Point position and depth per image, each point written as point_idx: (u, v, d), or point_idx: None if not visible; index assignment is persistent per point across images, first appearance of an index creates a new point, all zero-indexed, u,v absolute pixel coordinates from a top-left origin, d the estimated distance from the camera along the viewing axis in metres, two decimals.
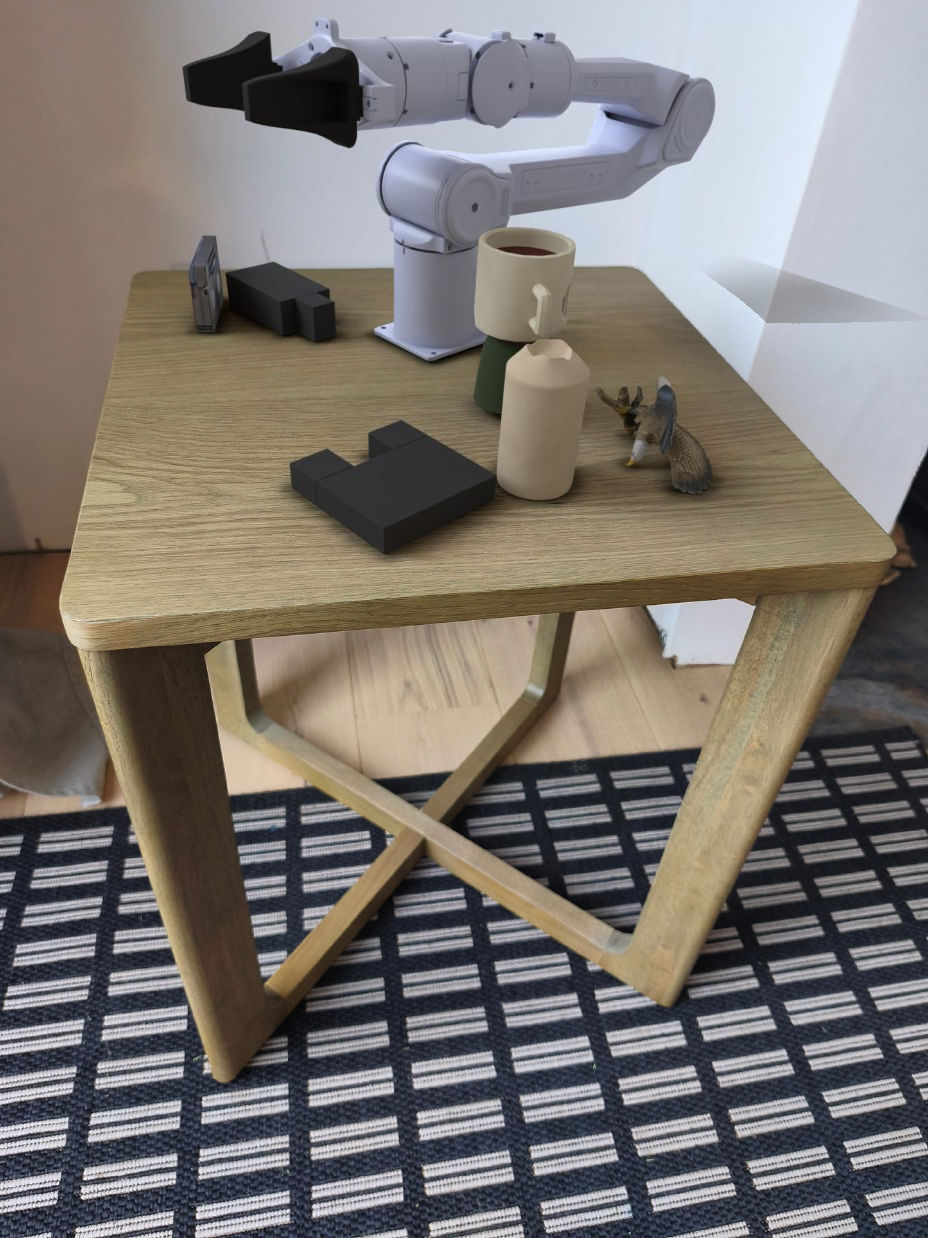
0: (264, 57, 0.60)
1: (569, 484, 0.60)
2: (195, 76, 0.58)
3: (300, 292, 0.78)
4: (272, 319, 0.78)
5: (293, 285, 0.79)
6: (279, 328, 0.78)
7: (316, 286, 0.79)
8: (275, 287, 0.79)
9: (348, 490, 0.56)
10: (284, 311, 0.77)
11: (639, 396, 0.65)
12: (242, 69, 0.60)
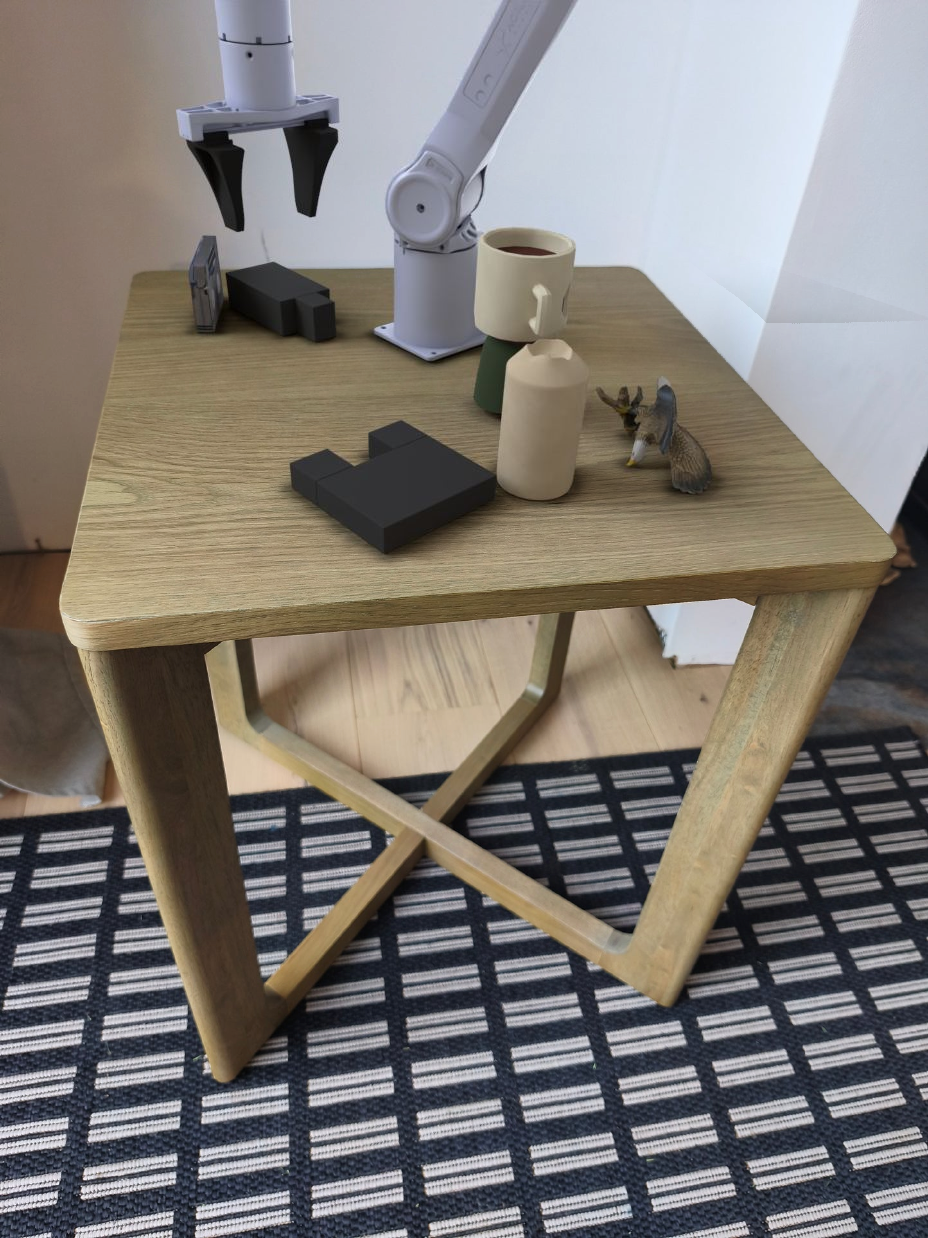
0: (291, 136, 0.75)
1: (569, 484, 0.60)
2: (300, 207, 0.78)
3: (300, 292, 0.78)
4: (272, 319, 0.78)
5: (293, 285, 0.79)
6: (279, 328, 0.78)
7: (316, 286, 0.79)
8: (275, 287, 0.79)
9: (348, 490, 0.56)
10: (284, 311, 0.77)
11: (639, 396, 0.65)
12: (297, 161, 0.76)
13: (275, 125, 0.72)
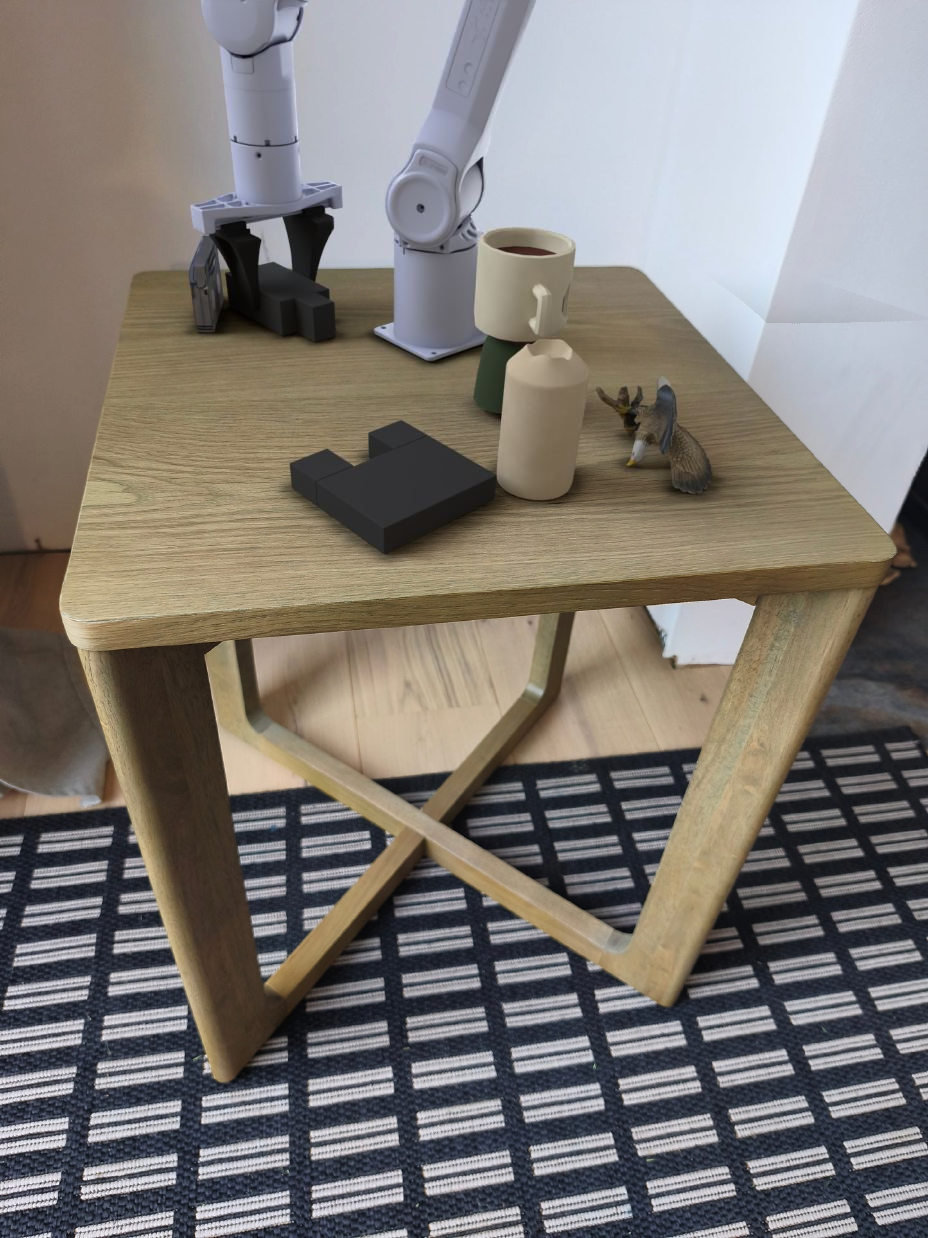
0: (289, 222, 0.79)
1: (569, 484, 0.60)
2: None
3: (299, 292, 0.78)
4: (271, 319, 0.78)
5: (293, 285, 0.79)
6: (279, 328, 0.78)
7: (316, 286, 0.79)
8: (275, 287, 0.79)
9: (348, 490, 0.56)
10: (284, 311, 0.77)
11: (639, 396, 0.65)
12: (295, 245, 0.80)
13: (282, 214, 0.77)
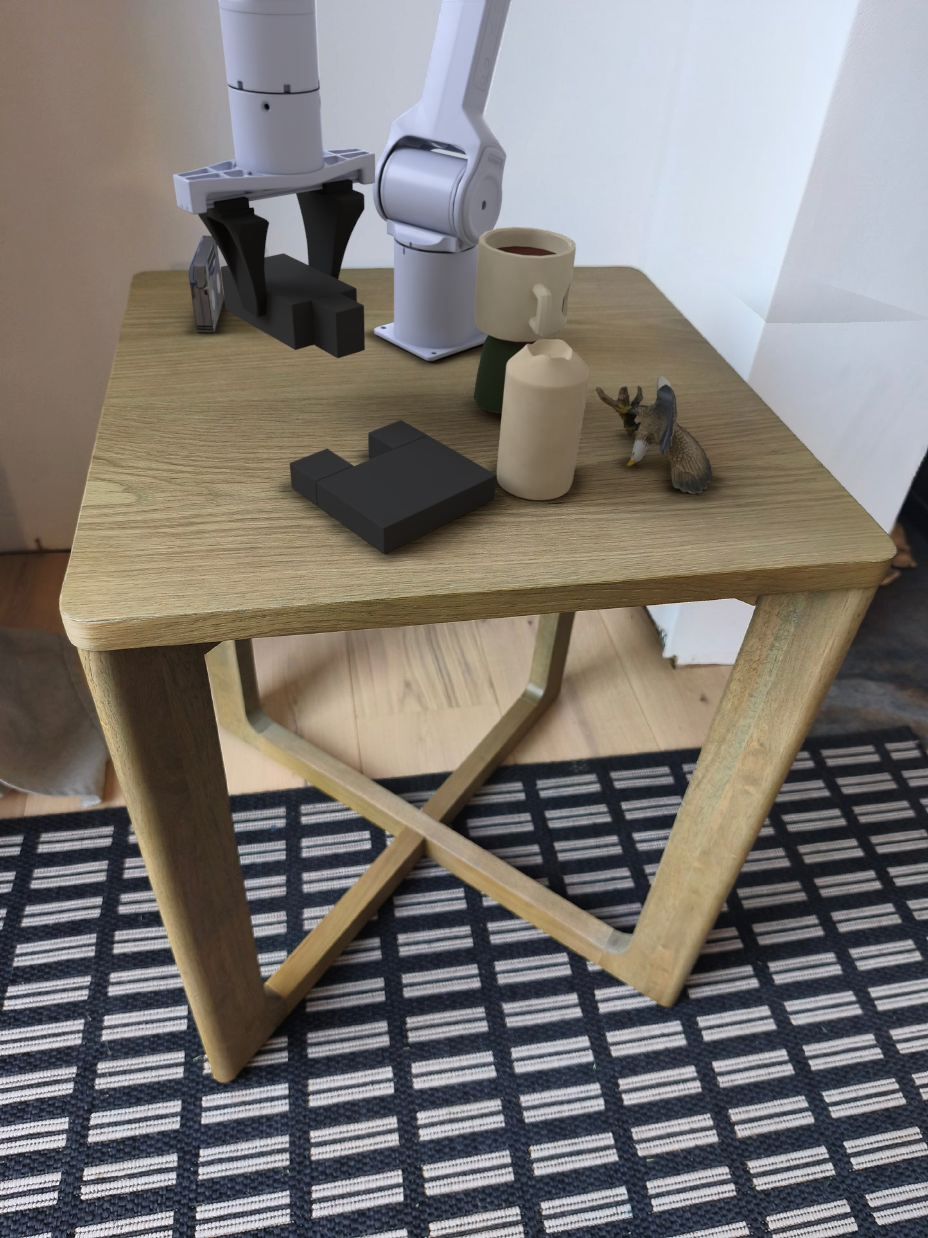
0: (306, 201, 0.61)
1: (569, 484, 0.60)
2: None
3: (318, 292, 0.59)
4: (281, 327, 0.60)
5: (309, 283, 0.61)
6: (290, 340, 0.59)
7: (339, 285, 0.61)
8: (286, 286, 0.60)
9: (348, 490, 0.56)
10: (298, 318, 0.58)
11: (639, 396, 0.65)
12: (313, 231, 0.62)
13: (297, 189, 0.58)
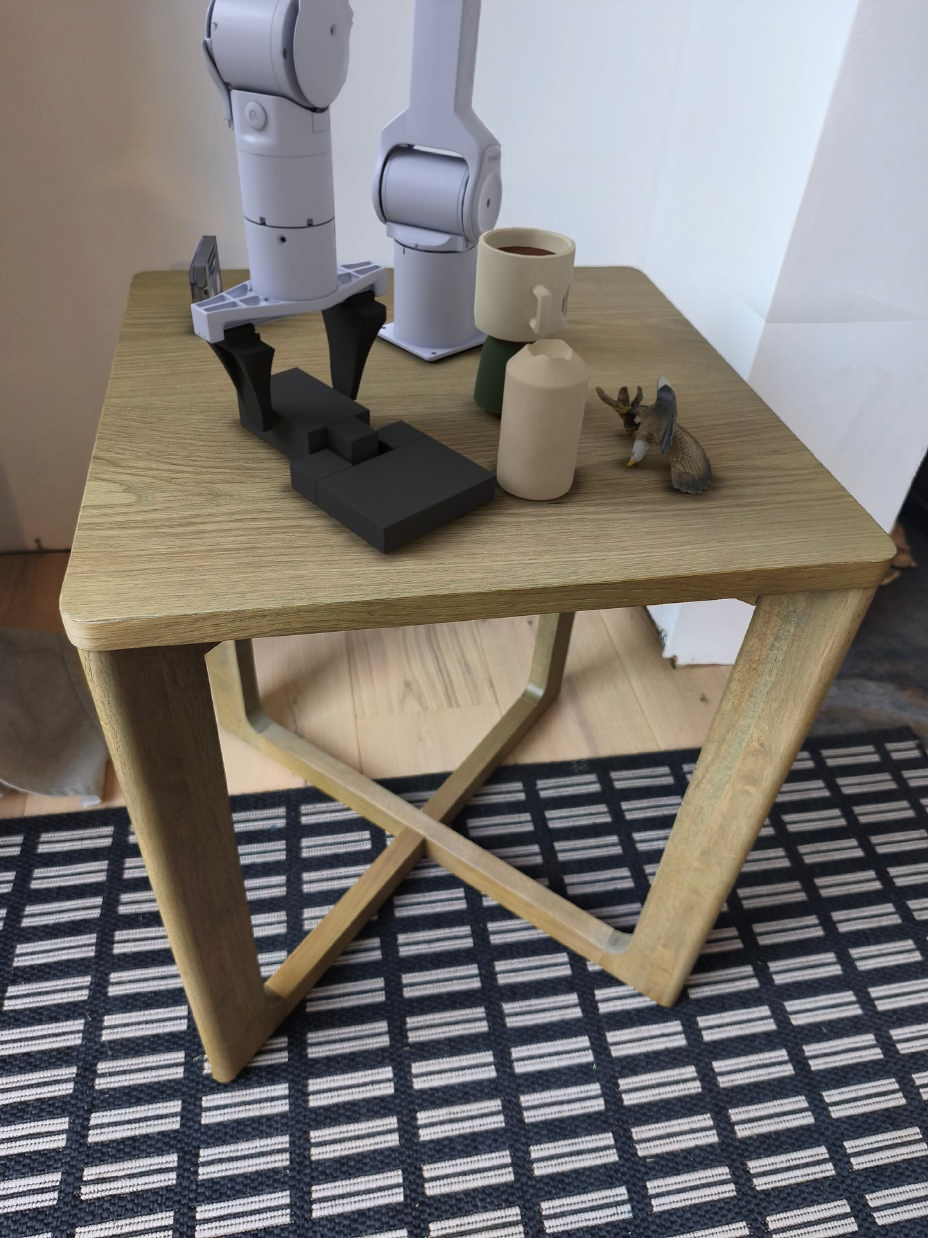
0: (328, 311, 0.62)
1: (569, 484, 0.60)
2: (338, 388, 0.65)
3: (332, 416, 0.61)
4: (296, 450, 0.61)
5: (323, 405, 0.62)
6: None
7: (353, 406, 0.62)
8: (301, 409, 0.61)
9: (348, 490, 0.56)
10: (313, 444, 0.60)
11: (639, 396, 0.65)
12: (335, 339, 0.63)
13: None
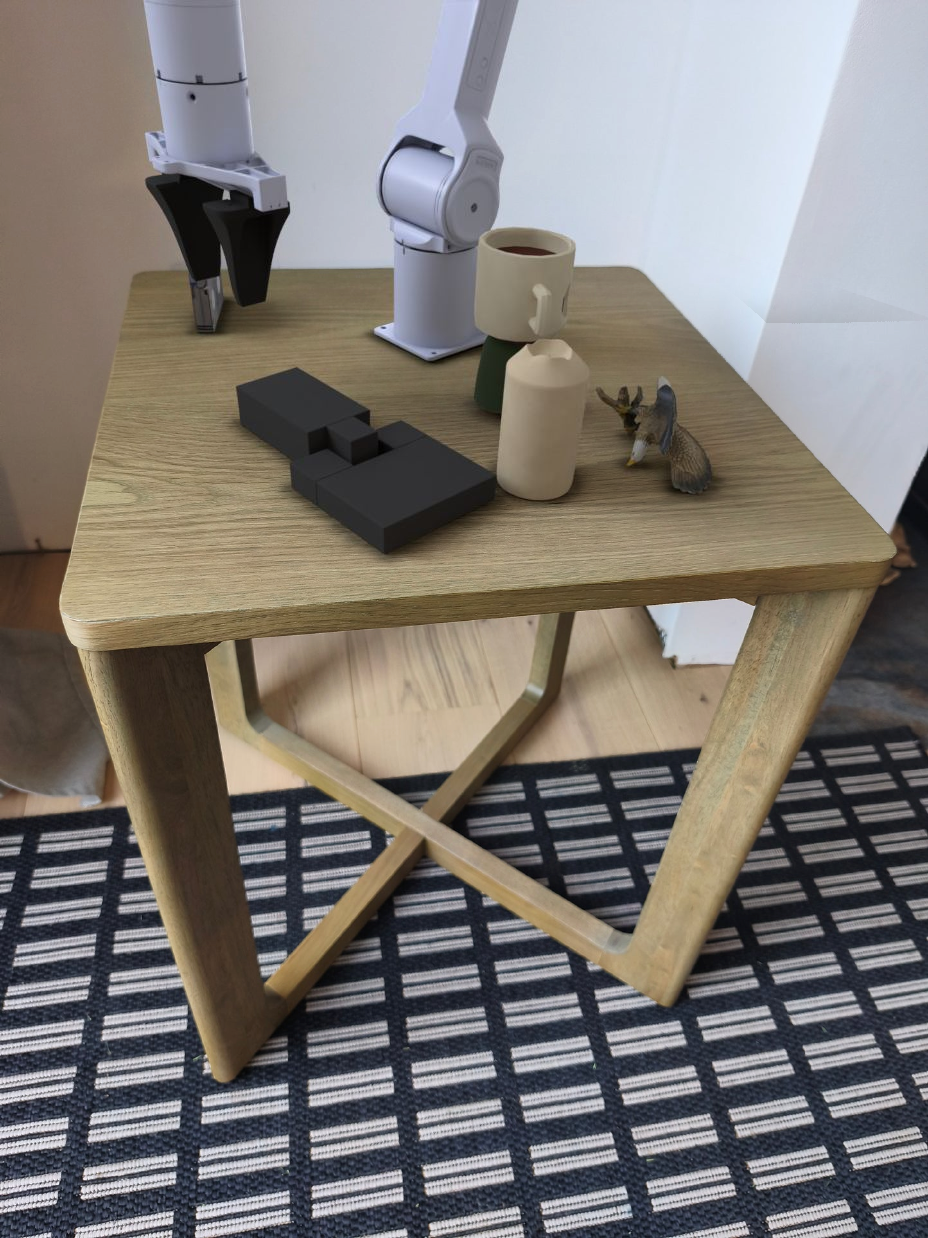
0: (177, 194, 0.61)
1: (569, 484, 0.60)
2: (202, 272, 0.65)
3: (332, 416, 0.61)
4: (296, 450, 0.61)
5: (323, 405, 0.62)
6: None
7: (353, 406, 0.62)
8: (301, 409, 0.61)
9: (348, 490, 0.56)
10: (313, 444, 0.60)
11: (639, 396, 0.65)
12: (189, 220, 0.62)
13: None
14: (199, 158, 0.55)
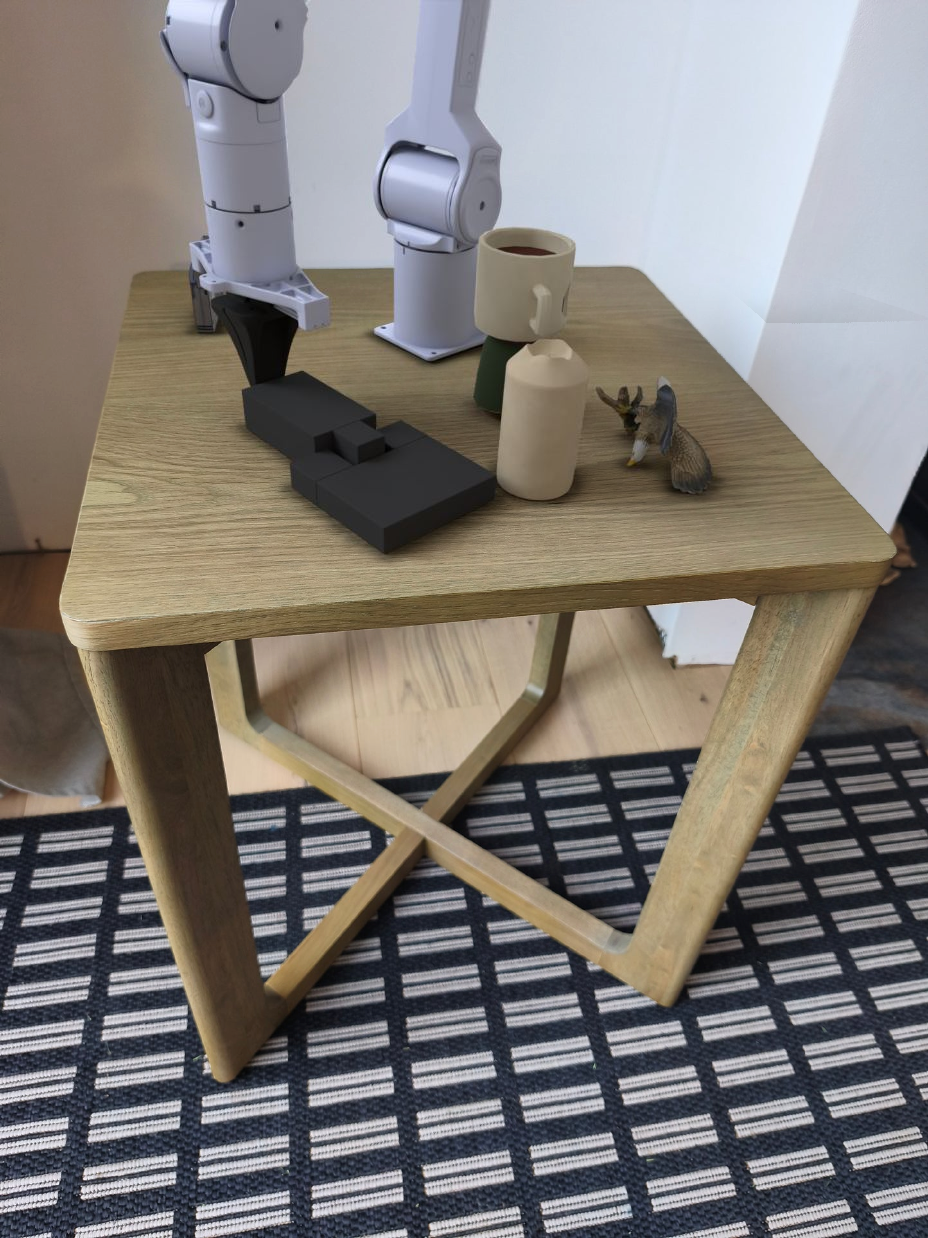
0: None
1: (569, 484, 0.60)
2: None
3: (339, 420, 0.60)
4: (302, 454, 0.60)
5: (329, 409, 0.61)
6: None
7: (359, 410, 0.62)
8: (307, 413, 0.61)
9: (348, 490, 0.56)
10: (319, 448, 0.59)
11: (639, 396, 0.65)
12: None
13: None
14: (245, 278, 0.57)
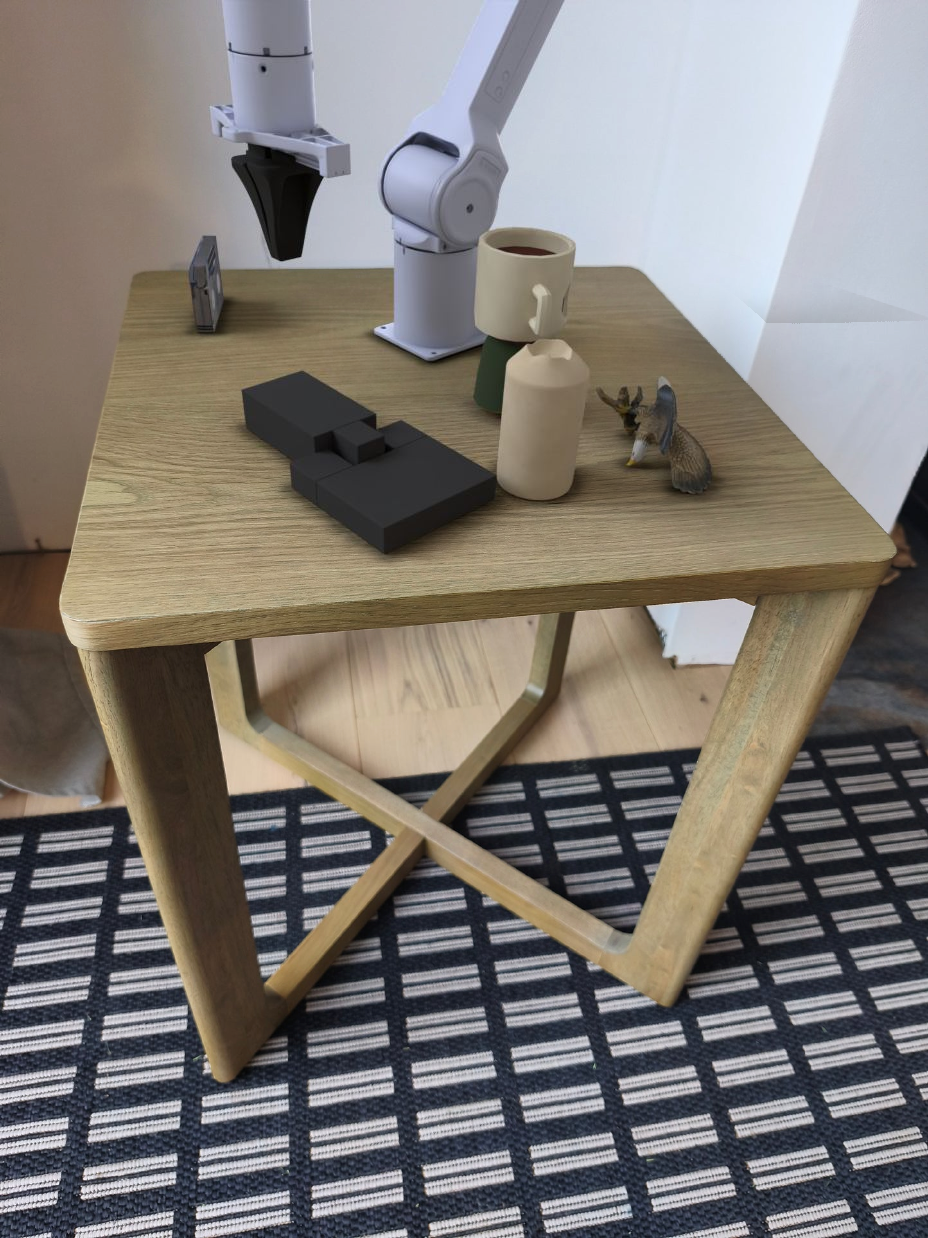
0: None
1: (569, 484, 0.60)
2: None
3: (339, 420, 0.60)
4: (302, 454, 0.60)
5: (329, 409, 0.61)
6: None
7: (359, 410, 0.62)
8: (307, 413, 0.61)
9: (348, 490, 0.56)
10: (319, 448, 0.59)
11: (639, 396, 0.65)
12: None
13: None
14: (267, 127, 0.59)
